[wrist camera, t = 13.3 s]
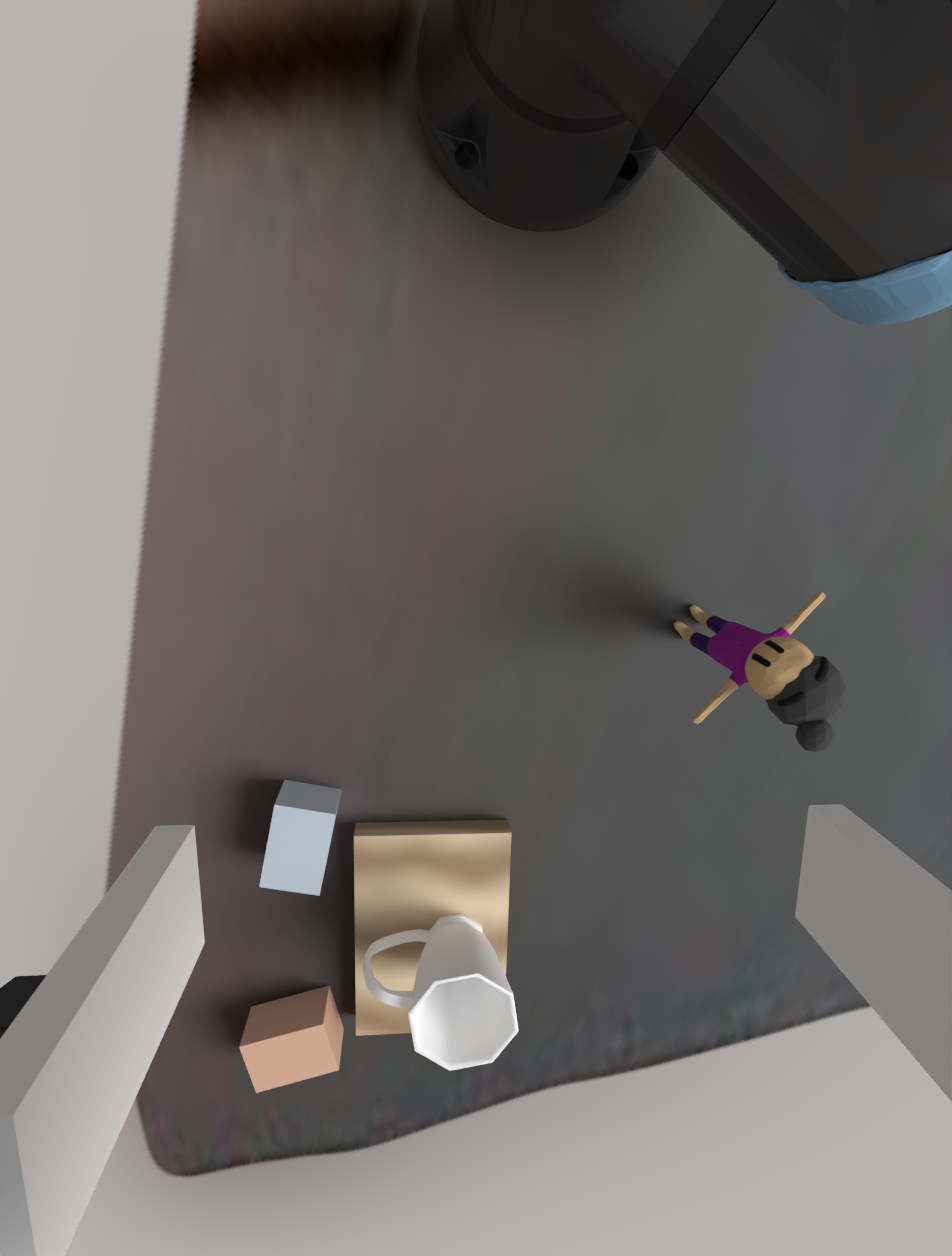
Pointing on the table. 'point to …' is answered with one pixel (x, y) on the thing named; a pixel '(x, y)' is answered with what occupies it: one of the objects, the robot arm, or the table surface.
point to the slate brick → (300, 837)
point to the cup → (452, 993)
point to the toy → (774, 672)
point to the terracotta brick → (292, 1039)
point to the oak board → (422, 899)
